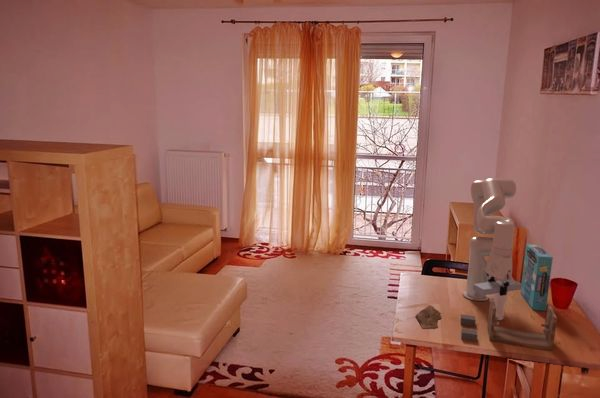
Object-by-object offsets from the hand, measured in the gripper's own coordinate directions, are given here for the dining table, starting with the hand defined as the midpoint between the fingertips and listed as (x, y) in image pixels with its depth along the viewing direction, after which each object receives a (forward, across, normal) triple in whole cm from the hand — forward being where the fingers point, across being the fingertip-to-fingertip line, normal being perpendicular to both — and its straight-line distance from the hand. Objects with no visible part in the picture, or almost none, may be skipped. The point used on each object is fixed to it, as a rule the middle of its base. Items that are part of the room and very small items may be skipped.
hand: (497, 291), depth 192 cm
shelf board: (-1, 0, 0) cm, 1 cm away
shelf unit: (+20, +6, +8) cm, 22 cm away
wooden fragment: (+20, -22, -16) cm, 34 cm away
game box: (+20, -20, +44) cm, 52 cm away
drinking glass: (+20, -11, +13) cm, 26 cm away
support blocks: (+20, -6, -8) cm, 22 cm away
